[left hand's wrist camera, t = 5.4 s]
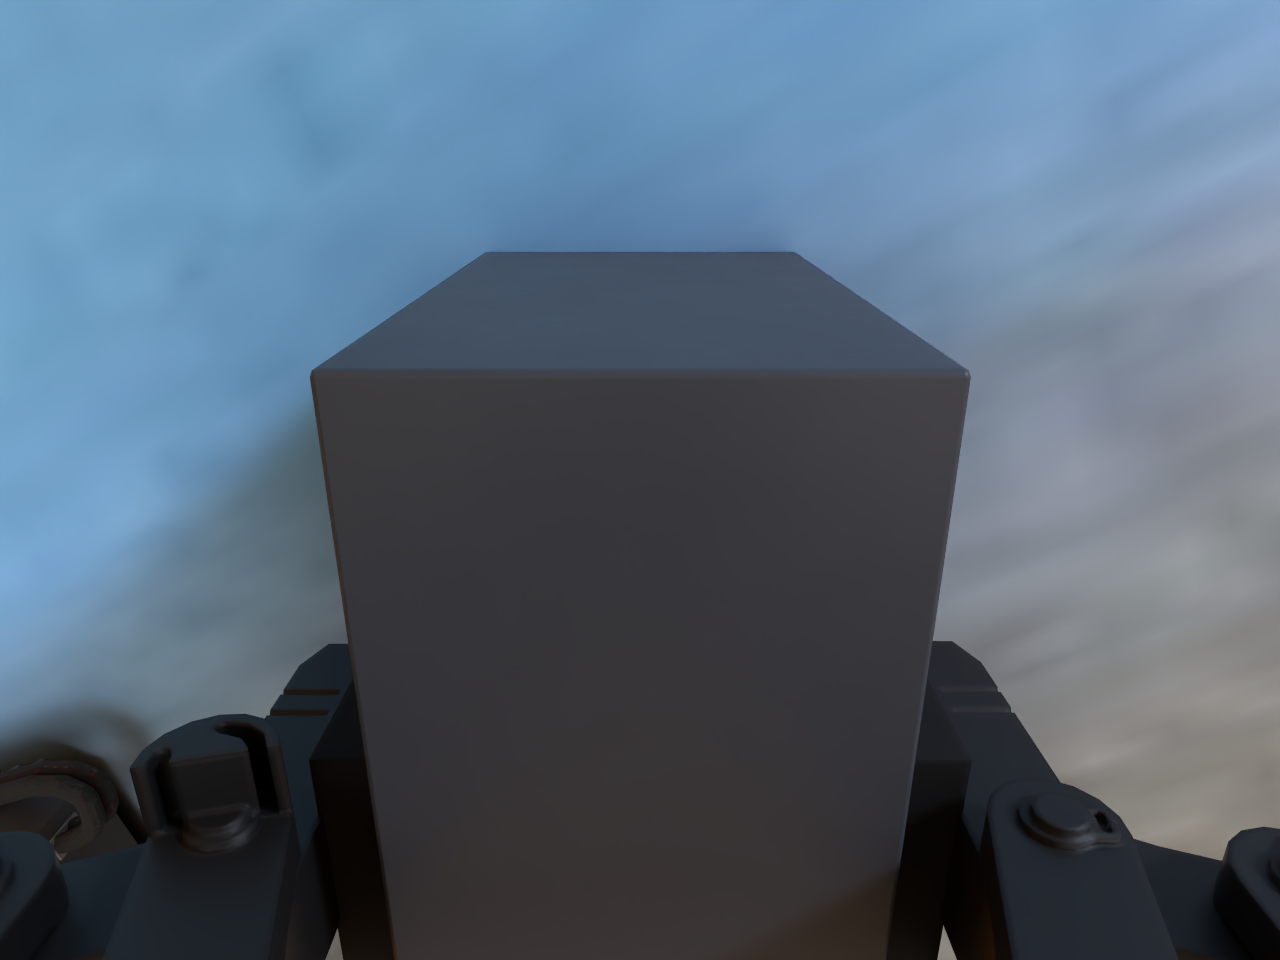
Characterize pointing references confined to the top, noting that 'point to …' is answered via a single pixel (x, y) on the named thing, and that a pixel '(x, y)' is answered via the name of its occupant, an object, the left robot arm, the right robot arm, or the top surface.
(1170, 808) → the top surface
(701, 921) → the bar
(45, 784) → the walkie-talkie
